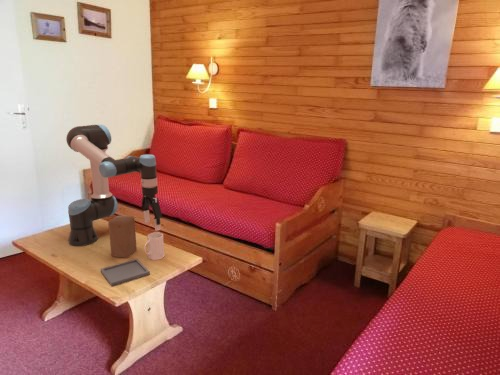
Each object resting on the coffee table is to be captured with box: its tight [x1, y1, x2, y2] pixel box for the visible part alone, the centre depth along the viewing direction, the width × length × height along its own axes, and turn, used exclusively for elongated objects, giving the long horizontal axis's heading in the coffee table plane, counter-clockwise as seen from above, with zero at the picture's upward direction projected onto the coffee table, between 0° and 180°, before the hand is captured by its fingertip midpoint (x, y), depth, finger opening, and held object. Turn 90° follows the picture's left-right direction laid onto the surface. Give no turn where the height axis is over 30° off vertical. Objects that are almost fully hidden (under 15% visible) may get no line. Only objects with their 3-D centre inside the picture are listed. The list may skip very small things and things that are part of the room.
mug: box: [143, 231, 165, 261], centre depth 193 cm, size 12×8×12 cm
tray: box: [100, 258, 151, 287], centre depth 178 cm, size 16×18×2 cm
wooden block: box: [107, 214, 138, 259], centre depth 196 cm, size 10×10×20 cm
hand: (152, 226), depth 190 cm, fingers open, 13 cm apart
